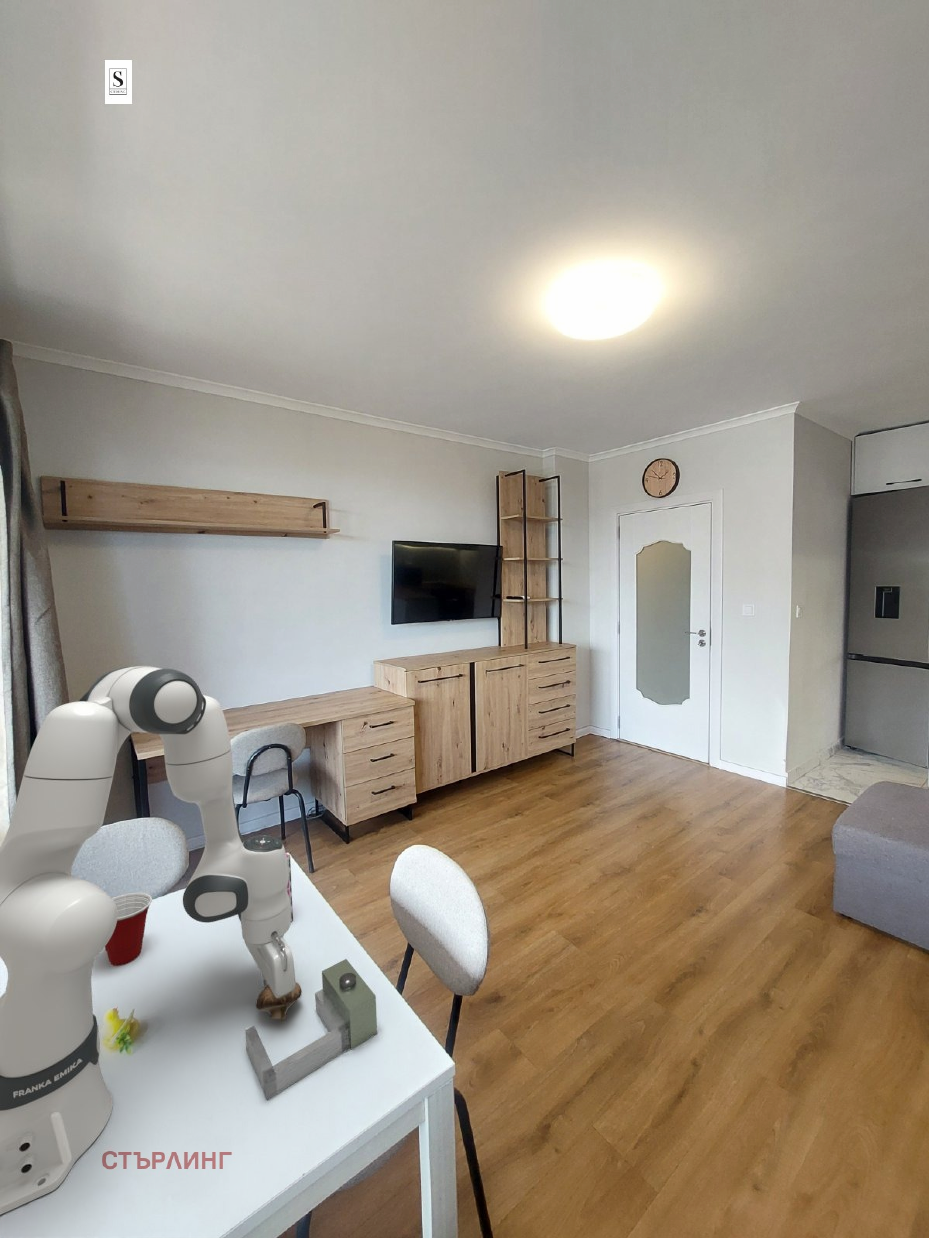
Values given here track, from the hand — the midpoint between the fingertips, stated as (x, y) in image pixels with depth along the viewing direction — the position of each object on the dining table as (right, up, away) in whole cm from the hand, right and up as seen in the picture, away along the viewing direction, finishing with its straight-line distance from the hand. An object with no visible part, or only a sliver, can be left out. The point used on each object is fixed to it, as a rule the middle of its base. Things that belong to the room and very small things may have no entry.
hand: (269, 989), depth 99 cm
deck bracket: (+12, -2, -10) cm, 15 cm away
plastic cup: (-37, -2, +13) cm, 39 cm away
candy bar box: (-9, -1, +25) cm, 26 cm away
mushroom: (+3, -2, -4) cm, 5 cm away
